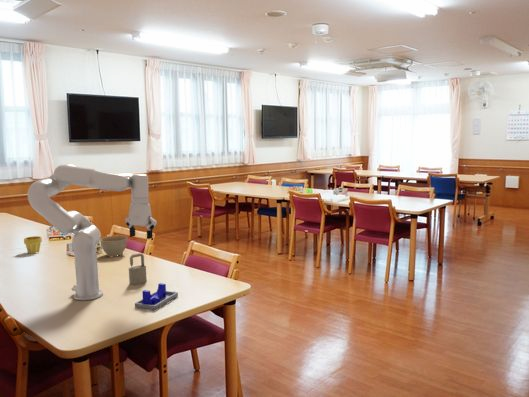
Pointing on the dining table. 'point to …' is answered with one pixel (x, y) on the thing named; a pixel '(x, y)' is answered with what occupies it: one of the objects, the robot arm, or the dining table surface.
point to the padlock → (137, 271)
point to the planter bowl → (113, 245)
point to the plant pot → (33, 243)
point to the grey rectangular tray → (162, 302)
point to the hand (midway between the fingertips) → (141, 237)
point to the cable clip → (156, 298)
